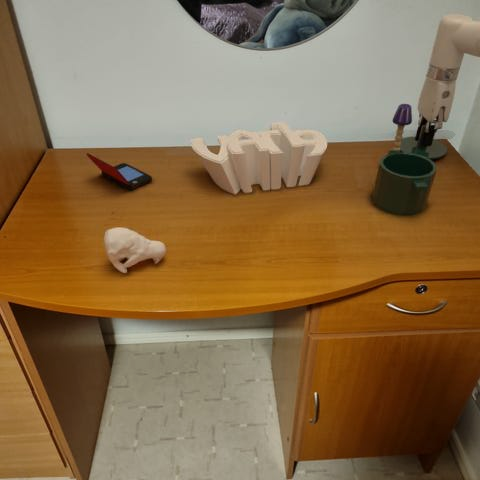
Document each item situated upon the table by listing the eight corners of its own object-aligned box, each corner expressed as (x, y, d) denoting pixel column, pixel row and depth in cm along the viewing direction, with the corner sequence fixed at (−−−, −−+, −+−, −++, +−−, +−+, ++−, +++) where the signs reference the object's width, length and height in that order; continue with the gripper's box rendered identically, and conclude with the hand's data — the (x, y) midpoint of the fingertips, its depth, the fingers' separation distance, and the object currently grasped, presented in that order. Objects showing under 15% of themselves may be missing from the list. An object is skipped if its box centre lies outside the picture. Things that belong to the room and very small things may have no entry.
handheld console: (154, 181, 124) (150, 153, 119) (120, 196, 118) (114, 168, 113) (124, 165, 130) (120, 138, 125) (91, 179, 124) (84, 152, 119)
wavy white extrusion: (199, 198, 118) (197, 157, 110) (190, 167, 129) (187, 128, 122) (335, 184, 123) (341, 143, 116) (315, 155, 134) (319, 117, 127)
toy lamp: (380, 171, 128) (394, 107, 116) (383, 164, 131) (397, 100, 119) (398, 175, 126) (414, 110, 115) (401, 167, 130) (417, 103, 118)
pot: (409, 181, 124) (418, 146, 117) (438, 219, 111) (451, 181, 104) (361, 184, 123) (368, 148, 116) (386, 223, 110) (395, 185, 103)
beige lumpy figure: (101, 221, 94) (163, 218, 97) (106, 257, 100) (164, 253, 103) (103, 239, 90) (167, 236, 93) (107, 276, 95) (168, 271, 98)
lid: (433, 139, 141) (440, 114, 136) (454, 160, 132) (462, 134, 127) (389, 141, 140) (394, 116, 135) (406, 162, 130) (413, 137, 125)
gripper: (471, 82, 116) (448, 155, 129) (442, 61, 128) (423, 130, 140) (442, 83, 115) (421, 157, 128) (415, 62, 127) (399, 131, 140)
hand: (422, 142), depth 134 cm, fingers closed on lid, 2 cm apart
